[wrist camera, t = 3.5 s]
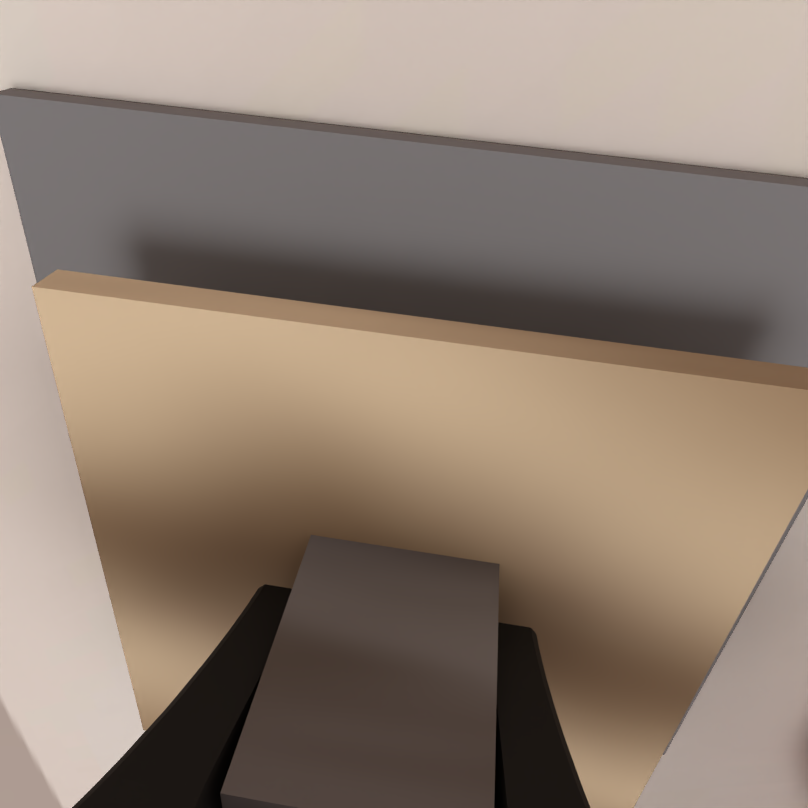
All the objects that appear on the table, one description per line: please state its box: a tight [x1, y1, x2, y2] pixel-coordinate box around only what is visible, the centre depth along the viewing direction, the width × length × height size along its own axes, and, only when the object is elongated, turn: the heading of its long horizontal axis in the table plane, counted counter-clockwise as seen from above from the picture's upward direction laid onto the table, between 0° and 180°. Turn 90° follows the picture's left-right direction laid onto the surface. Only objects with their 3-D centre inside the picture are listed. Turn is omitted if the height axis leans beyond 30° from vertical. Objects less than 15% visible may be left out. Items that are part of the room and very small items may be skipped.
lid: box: [32, 269, 808, 808], centre depth 10 cm, size 10×10×5 cm
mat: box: [0, 88, 808, 755], centre depth 14 cm, size 14×14×1 cm
